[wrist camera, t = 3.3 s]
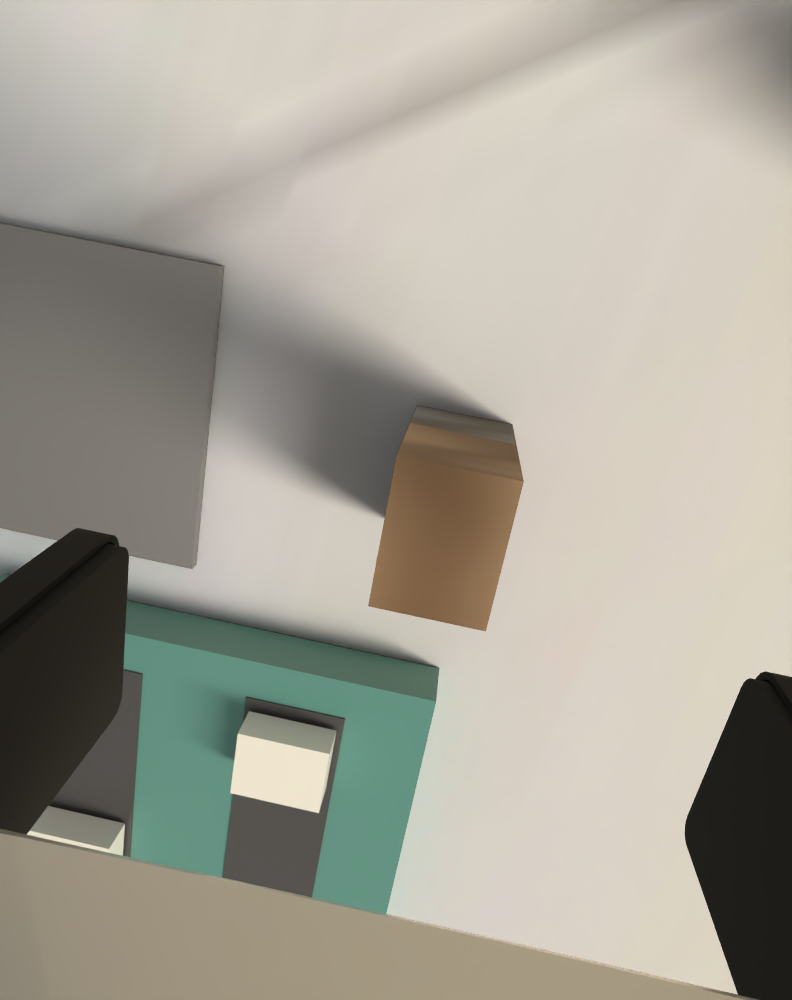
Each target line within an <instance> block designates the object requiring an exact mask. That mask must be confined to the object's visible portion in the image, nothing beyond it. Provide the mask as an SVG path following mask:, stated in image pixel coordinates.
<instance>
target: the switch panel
mask: <svg viewBox="0 0 792 1000" xmlns="http://www.w3.org/2000/svg"><path fill="white" fill-rule="evenodd" d="M9 576H10V575H7V574H3V575H2V576H0V582H2V581H3V580H4V579H6V578H7V577H9ZM438 675H439V668H436V667H431V666H427V665H422V664H417V663H413V662H408V661H404V660H399V659H394V658H390V657H385V656H381V655H376V654H371V653H367V652H362V651H357V650H353V649H348V648H344V647H339V646H334V645H330V644H325V643H321V642H316V641H311V640H307V639H302V638H298V637H293V636H288V635H284V634H279V633H275V632H270V631H265V630H261V629H256V628H252V627H247V626H242V625H238V624H233V623H229V622H224V621H219V620H215V619H210V618H206V617H201V616H196V615H192V614H187V613H182V612H178V611H173V610H169V609H164V608H159V607H155V606H150V605H146V604H141V603H136V602H132V601H127V607H126V628H125V649H124V670H123V691H122V699H121V703H120V706H119V709H118V711H117V714H116V716H115V717H114V719H113V720H112V722H111V723H110V724H109V726H108V727H107V728H106V730H105V731H104V732H103V734H102V735H101V736H100V738H99V739H98V740H97V742H96V743H95V744H94V746H93V747H92V748H91V750H90V751H89V752H88V754H87V755H86V756H85V758H84V759H83V760H82V762H81V763H80V764H79V766H78V767H77V768H76V770H75V771H74V772H73V774H72V775H71V776H70V778H69V779H68V780H67V782H66V783H65V784H64V786H63V787H62V788H61V790H60V791H59V792H58V794H57V795H56V796H55V798H54V799H53V800H52V801H51V803H50V804H49V805H48V806H51V807H55V808H60V809H64V810H68V811H73V812H77V813H81V814H86V815H90V816H94V817H99V818H103V819H107V820H112V821H116V822H120V823H125V830H124V846H123V856H126V857H131V858H135V859H140V860H144V861H149V862H154V863H158V864H163V865H167V866H172V867H176V868H181V869H185V870H190V871H195V872H199V873H204V874H208V875H213V876H217V877H222V878H226V879H231V880H235V881H240V882H244V883H249V884H254V885H258V886H263V887H267V888H272V889H276V890H281V891H285V892H290V893H294V894H299V895H303V896H308V897H312V898H317V899H321V900H325V901H330V902H334V903H339V904H343V905H348V906H352V907H357V908H361V909H365V910H370V911H374V912H379V913H383V914H386V912H387V908H388V903H389V899H390V895H391V891H392V886H393V882H394V878H395V874H396V869H397V865H398V861H399V857H400V852H401V848H402V844H403V840H404V835H405V831H406V827H407V823H408V818H409V814H410V810H411V805H412V801H413V797H414V793H415V788H416V784H417V780H418V776H419V771H420V767H421V763H422V759H423V754H424V750H425V746H426V742H427V737H428V733H429V729H430V725H431V720H432V716H433V712H434V708H435V703H436V695H437V685H438ZM249 711H251V712H255V713H260V714H264V715H269V716H273V717H278V718H282V719H287V720H291V721H296V722H300V723H305V724H309V725H314V726H318V727H323V728H327V729H332V730H336V736H335V742H334V747H333V753H332V758H331V764H330V769H329V775H328V780H327V786H326V790H325V793H324V797H323V800H322V804H321V807H320V811H319V813H316V812H311V811H307V810H302V809H298V808H294V807H289V806H285V805H281V804H276V803H272V802H267V801H263V800H259V799H254V798H250V797H245V796H241V795H237V794H232V793H230V791H231V783H232V775H233V767H234V759H235V751H236V743H237V735H238V732H239V730H240V728H241V726H242V724H243V722H244V720H245V718H246V716H247V714H248V712H249Z"/></svg>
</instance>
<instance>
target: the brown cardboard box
mask: <svg viewBox="0 0 792 1000" xmlns="http://www.w3.org/2000/svg"><path fill="white" fill-rule="evenodd" d="M523 482H524V481H523V476H522V471H521V466H520V461H519V456H518V451H517V446H516V441H515V436H514V430H513V425H512V424H507V423H503V422H498V421H493V420H488V419H483V418H478V417H473V416H468V415H463V414H458V413H453V412H448V411H443V410H438V409H433V408H428V407H423V406H418V405H417V407H416V410H415V412H414V415H413V417H412V419H411V422H410V424H409V427H408V429H407V432H406V434H405V436H404V439H403V441H402V444H401V446H400V448H399V451H398V453H397V456H396V461H395V466H394V472H393V477H392V482H391V488H390V493H389V498H388V504H387V509H386V514H385V520H384V525H383V530H382V536H381V541H380V546H379V552H378V557H377V562H376V568H375V573H374V578H373V584H372V589H371V594H370V600H369V605H368V606H370V607H375V608H380V609H384V610H389V611H394V612H398V613H403V614H408V615H412V616H417V617H422V618H426V619H431V620H436V621H440V622H445V623H450V624H454V625H459V626H464V627H468V628H473V629H477V630H482V631H486V628H487V624H488V620H489V616H490V612H491V608H492V604H493V600H494V596H495V592H496V588H497V584H498V580H499V577H500V573H501V569H502V565H503V561H504V557H505V553H506V549H507V545H508V541H509V537H510V533H511V529H512V525H513V521H514V517H515V513H516V509H517V505H518V501H519V498H520V494H521V490H522V486H523Z"/></svg>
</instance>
